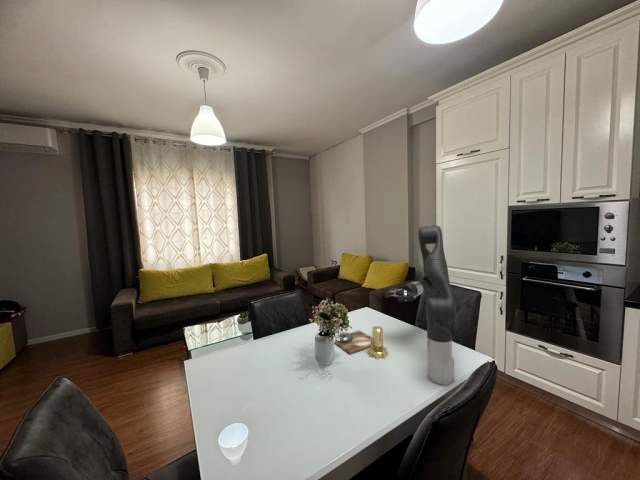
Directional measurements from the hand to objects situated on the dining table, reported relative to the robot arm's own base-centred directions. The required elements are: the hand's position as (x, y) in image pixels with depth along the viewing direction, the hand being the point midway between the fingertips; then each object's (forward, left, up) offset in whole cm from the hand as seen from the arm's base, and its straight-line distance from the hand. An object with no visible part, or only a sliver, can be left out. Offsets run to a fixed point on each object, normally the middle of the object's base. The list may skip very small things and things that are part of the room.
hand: (391, 297), depth 129 cm
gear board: (+17, +11, -27) cm, 33 cm away
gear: (+21, +16, -25) cm, 36 cm away
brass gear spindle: (+1, +9, -27) cm, 28 cm away
